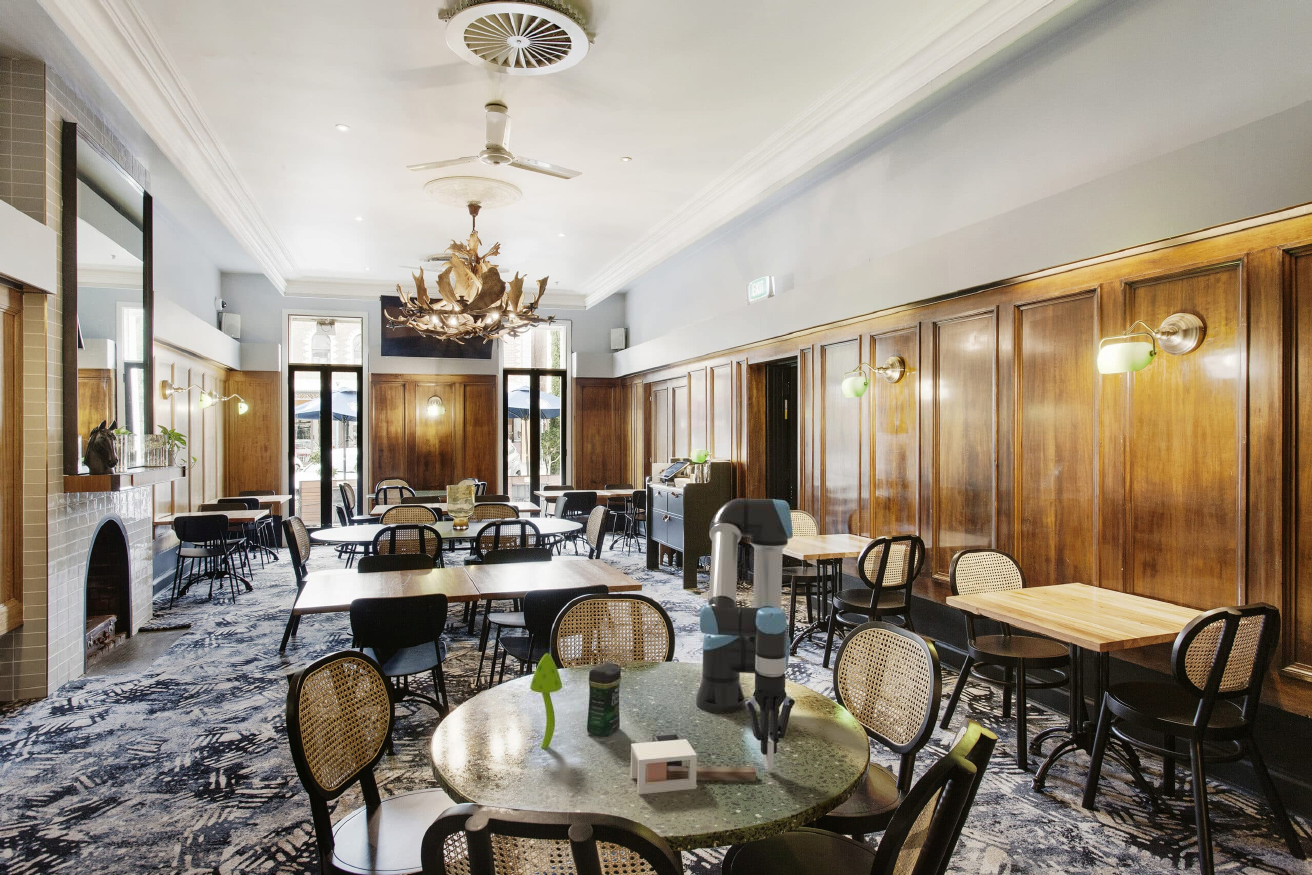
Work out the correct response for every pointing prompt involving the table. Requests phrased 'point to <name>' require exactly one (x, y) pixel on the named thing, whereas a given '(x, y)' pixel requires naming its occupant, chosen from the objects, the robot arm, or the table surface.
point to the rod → (713, 773)
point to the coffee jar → (604, 700)
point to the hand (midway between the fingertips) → (768, 766)
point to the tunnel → (663, 750)
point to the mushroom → (547, 691)
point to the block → (655, 772)
